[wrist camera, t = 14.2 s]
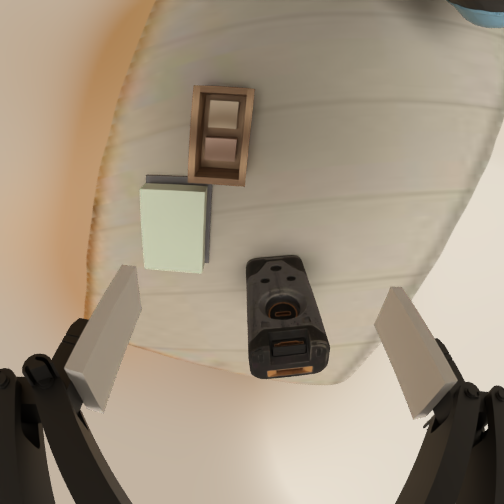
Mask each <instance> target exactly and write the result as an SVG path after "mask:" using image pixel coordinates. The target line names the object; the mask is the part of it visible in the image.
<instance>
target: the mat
mask: <svg viewBox="0 0 504 504" xmlns="http://www.w3.org/2000/svg"><path fill="white" fill-rule="evenodd" d="M146 183H154V184H178V185H197V186H207V206H206V230H205V263H209V241H210V218H211V199H212V184H202V183H188V177H187V176H163V175H146Z"/></svg>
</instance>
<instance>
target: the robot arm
mask: <svg viewBox="0 0 504 504" xmlns="http://www.w3.org/2000/svg"><path fill="white" fill-rule="evenodd" d="M447 1H448V2H449V3H450V4H452V5H453V6H454V7H455V8H456V9H457V10H458V12H459V13H460V14H461V15H462V16H463V17H464V18H465V19H466V20H468V21H469V22H471V23H473V24H475V25H477V26H481V27H486V28H503V27H504V0H447ZM141 310H142V307H141V300H140V293H139V286H138V278H137V269H136V266H128V265H122V266H121V267H120V269H119V271H118V272H117V274H116V275H115V277H114V279H113V280H112V282H111V283H110V285H109V287H108V288H107V290H106V292H105V293H104V295H103V297H102V298H101V300H100V302H99V304H98V305H97V307H96V309H95V311H94V312H93V314H92V316H91V318H90V319H89V320H87V319H82V318H79V319H78V320H77V321H76V322H74V323H73V324H72V325H71V326H70V328H69V329H68V331H67V333H66V336H64V338H63V340H62V342H61V344H60V345H59V347H58V349H57V351H56V353H55V355H54V356H53V358H52V360H51V359H50V357H48V356H47V355H45V354H34V355H32V356H30V357H29V358H28V359H27V360H26V361H25V362H24V365H23V367H22V373H23V374H24V376H25V377H16V376H15V374H14V373H13V371H12V370H10V369H6V368H3V369H0V504H55V500H54V496H53V492H52V487H51V482H50V477H49V471H48V465H47V459H46V452H45V444H44V434H43V428H44V431H45V434H46V437H47V440H48V443H49V445H50V448H51V450H52V453H53V456H54V458H55V460H56V463H57V465H58V468H59V470H60V472H61V475H62V477H63V478H64V481H65V483H66V485H67V487H68V489H69V491H70V493H71V495H72V497H73V499H74V501H75V503H76V504H132V502H131V501H130V500H129V498H128V497H127V495H126V493H125V492H124V490H123V489H122V487H121V486H120V484H119V483H118V481H117V479H116V478H115V476H114V474H113V472H112V471H111V469H110V467H109V466H108V464H107V462H106V460H105V458H104V457H103V455H102V453H101V452H100V449H99V447H98V445H97V443H96V441H95V439H94V437H93V435H92V433H91V431H90V429H89V427H88V425H87V423H86V420H85V418H84V416H83V414H82V412H81V410H80V408H81V405H82V403H84V404H85V406H86V408H87V409H89V410H93V411H96V412H100V413H104V411H105V408H106V405H107V401H108V398H109V395H110V392H111V389H112V386H113V384H114V381H115V378H116V375H117V372H118V370H119V367H120V364H121V361H122V359H123V356H124V353H125V350H126V348H127V345H128V343H129V340H130V338H131V335H132V333H133V330H134V327H135V325H136V322H137V320H138V318H139V315H140V313H141ZM374 326H375V328H376V330H377V332H378V335H379V337H380V339H381V341H382V344H383V346H384V348H385V350H386V353H387V355H388V357H389V360H390V362H391V364H392V367H393V369H394V371H395V374H396V376H397V379H398V381H399V384H400V386H401V389H402V391H403V394H404V396H405V399H406V401H407V404H408V407H409V409H410V412H411V415H412V417H413V419H418V418H422V417H426V416H427V415H428V414H429V413H430V412H431V411H432V410H433V411H434V414H435V415H434V416H433V417H432V418H431V419H430V420H429V421H428V422H427V423H426V424H425V425H424V426H423V428H425V427H426V426H427V425H428V424H429V427H428V429H427V432H426V435H425V438H424V441H423V443H422V446H421V449H420V451H419V454H418V456H417V459H416V461H415V463H414V466H413V468H412V470H411V472H410V475H409V477H408V479H407V481H406V483H405V485H404V487H403V489H402V491H401V493H400V495H399V497H398V499H397V501H396V503H395V504H504V388H503V387H501V386H494V387H493V388H492V389H491V390H490V391H489V392H482V391H479V389H478V388H477V386H476V385H474V384H473V383H470V382H465V381H464V379H463V377H462V375H461V373H460V372H459V370H458V368H457V366H456V364H455V363H454V361H452V357H451V355H449V352H448V350H447V349H446V347H445V345H444V344H443V343H442V342H441V341H440V340H439V339H437V338H436V339H434V337H433V335H432V334H431V332H430V330H429V329H428V327H427V325H426V324H425V322H424V320H423V319H422V317H421V316H420V314H419V313H418V311H417V309H416V308H415V306H414V305H413V303H412V302H411V300H410V299H409V297H408V295H407V294H406V292H405V291H404V289H403V288H402V287H390V290H389V292H388V295H387V297H386V299H385V302H384V304H383V306H382V308H381V311H380V313H379V315H378V317H377V320H376V322H375V324H374ZM487 424H488V429H487V430H486V431H485V429H484V427H485V426H486V425H487Z"/></svg>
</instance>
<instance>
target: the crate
mask: <svg viewBox="0 0 504 504" xmlns="http://www.w3.org/2000/svg"><path fill="white" fill-rule="evenodd" d="M254 91H255V89H250V88H238V87H222V86H196V85H194V87H193V99H192V111H191V125H190V141H189V160H188V183H202V184H217V185H231V186H243V187H245V178H246V168H247V158H248V148H249V138H250V129H251V119H252V110H253V101H254Z"/></svg>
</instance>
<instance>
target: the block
mask: <svg viewBox="0 0 504 504" xmlns="http://www.w3.org/2000/svg"><path fill="white" fill-rule="evenodd" d="M206 206H207V186H197V185H178V184H154V183H146V184H145V185H144V186H143V187H141V188H140V212H141V230H142V245H143V257H144V268H145V269H153V270H164V271H176V272H188V273H200V274H202V273H203V268H204V263H205V230H206Z"/></svg>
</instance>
